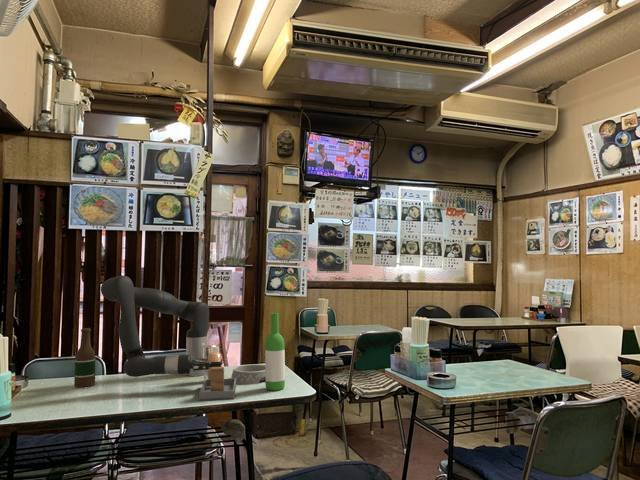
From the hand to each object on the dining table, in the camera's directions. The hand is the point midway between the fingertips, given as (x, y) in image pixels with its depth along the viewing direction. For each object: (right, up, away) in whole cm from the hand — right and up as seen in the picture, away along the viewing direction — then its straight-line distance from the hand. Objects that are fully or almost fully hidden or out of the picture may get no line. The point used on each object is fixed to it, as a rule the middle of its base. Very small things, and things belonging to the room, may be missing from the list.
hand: (221, 363), depth 187 cm
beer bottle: (-59, -12, +7) cm, 61 cm away
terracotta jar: (-3, -6, -1) cm, 7 cm away
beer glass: (-7, -11, +12) cm, 18 cm away
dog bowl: (+10, -12, +15) cm, 21 cm away
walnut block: (+1, -9, -13) cm, 15 cm away
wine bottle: (+22, -10, -2) cm, 24 cm away
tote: (+1, -10, -7) cm, 12 cm away
